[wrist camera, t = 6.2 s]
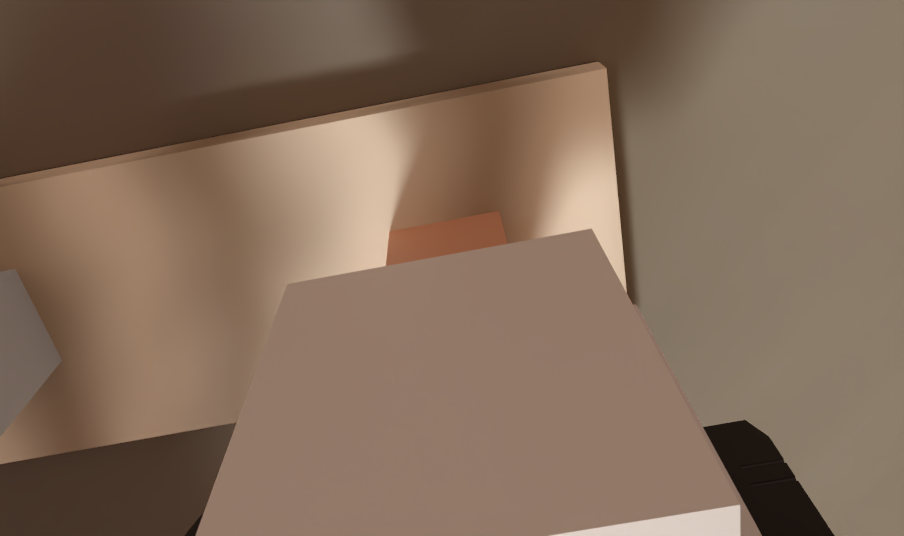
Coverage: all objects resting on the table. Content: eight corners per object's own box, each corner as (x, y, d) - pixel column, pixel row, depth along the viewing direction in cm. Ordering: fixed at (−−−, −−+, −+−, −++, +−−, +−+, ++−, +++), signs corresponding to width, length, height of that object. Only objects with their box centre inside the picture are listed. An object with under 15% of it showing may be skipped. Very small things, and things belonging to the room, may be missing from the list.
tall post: (412, 325, 22) (409, 457, 17) (389, 231, 21) (377, 342, 15) (515, 307, 22) (545, 434, 17) (498, 210, 21) (526, 315, 15)
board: (-67, 458, 25) (-85, 479, 24) (-221, 222, 21) (-250, 236, 20) (624, 336, 24) (631, 352, 23) (598, 61, 20) (606, 68, 19)
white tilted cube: (359, 509, 18) (321, 883, 11) (287, 283, 15) (173, 596, 8) (616, 466, 18) (742, 823, 11) (591, 228, 15) (740, 504, 8)
